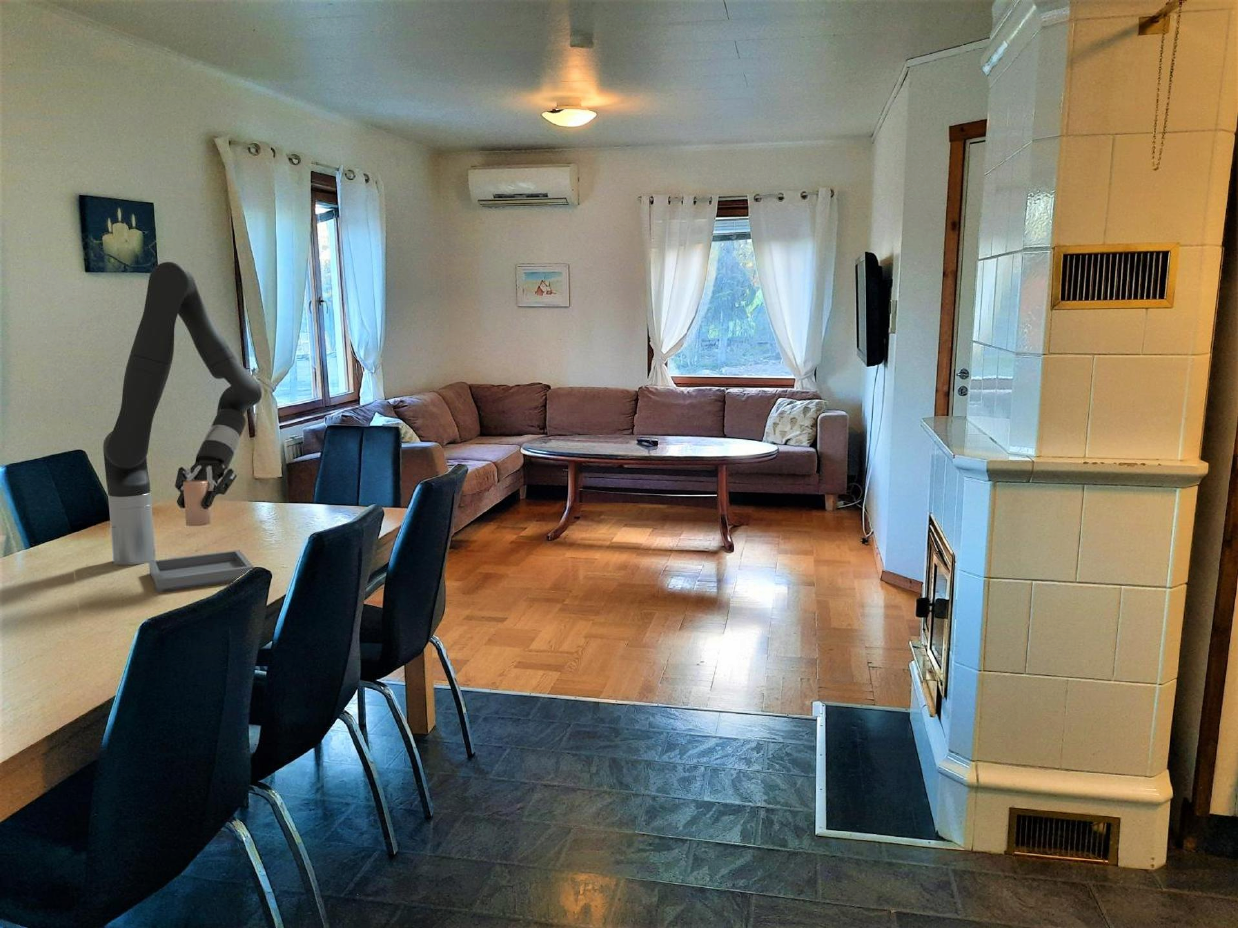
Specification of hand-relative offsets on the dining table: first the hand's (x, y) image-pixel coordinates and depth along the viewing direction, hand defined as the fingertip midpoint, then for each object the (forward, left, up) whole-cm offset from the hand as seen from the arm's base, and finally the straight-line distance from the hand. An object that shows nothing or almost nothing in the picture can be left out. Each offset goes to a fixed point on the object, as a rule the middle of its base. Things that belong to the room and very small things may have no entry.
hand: (192, 506), depth 202 cm
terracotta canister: (+1, +1, -4) cm, 5 cm away
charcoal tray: (+1, +1, -17) cm, 17 cm away
